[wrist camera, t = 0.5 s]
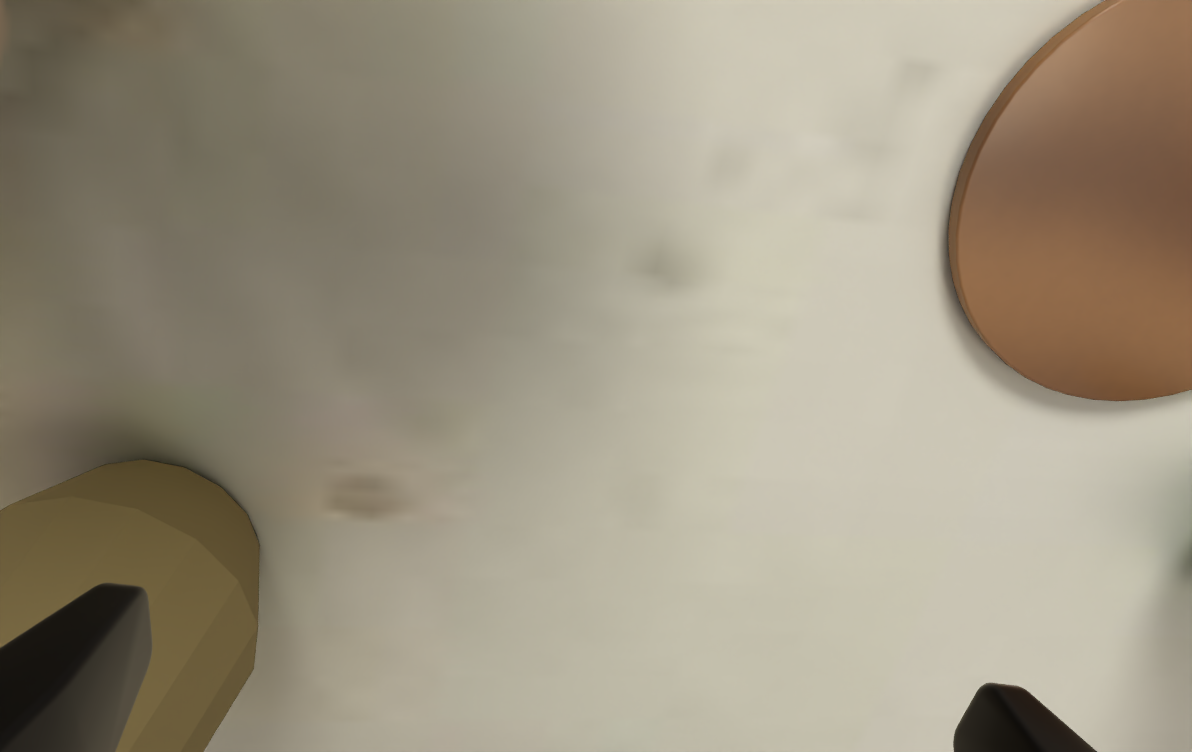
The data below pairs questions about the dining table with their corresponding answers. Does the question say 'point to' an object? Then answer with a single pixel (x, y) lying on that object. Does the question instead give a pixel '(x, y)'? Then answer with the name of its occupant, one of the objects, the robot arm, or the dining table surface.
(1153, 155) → the plate
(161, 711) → the squeeze bottle
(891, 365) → the dining table surface
